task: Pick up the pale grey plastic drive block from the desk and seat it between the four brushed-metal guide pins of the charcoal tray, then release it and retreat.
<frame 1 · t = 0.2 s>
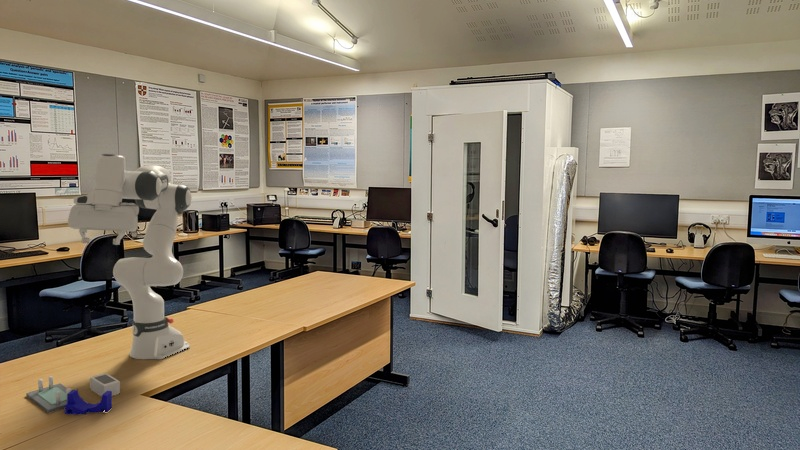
hand: (100, 243, 168), 51 cm above the table, tool tilted 20°, fingers open, 8 cm apart
pin tray: (54, 398, 171), on the table
cable clip: (88, 412, 164), on the table
drive: (105, 391, 178), on the table
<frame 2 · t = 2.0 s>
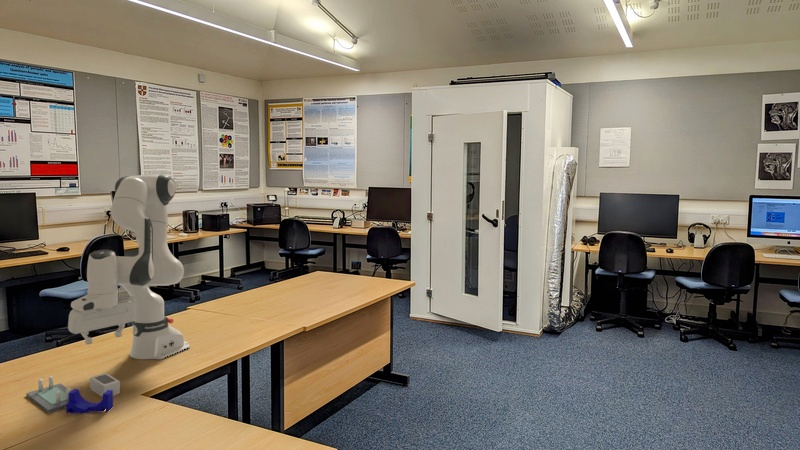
hand: (103, 340, 175), 18 cm above the table, tool pointing down, fingers open, 8 cm apart
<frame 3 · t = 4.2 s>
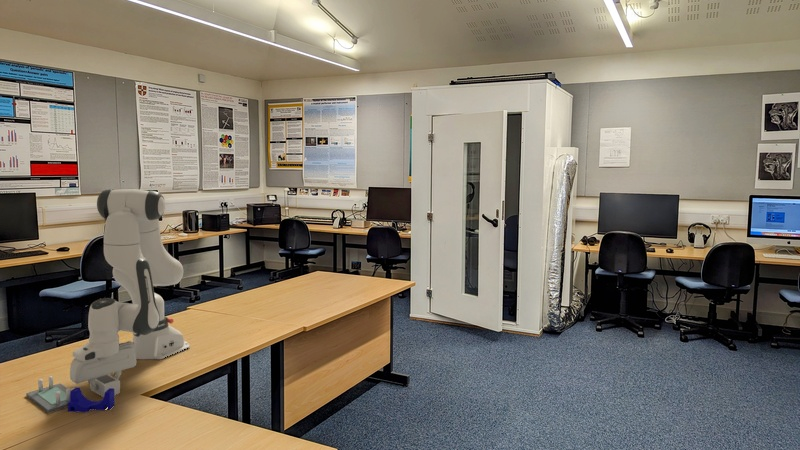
hand: (105, 386, 178), 2 cm above the table, tool pointing down, fingers closed on drive, 5 cm apart
drive: (105, 391, 178), on the table, touching gripper
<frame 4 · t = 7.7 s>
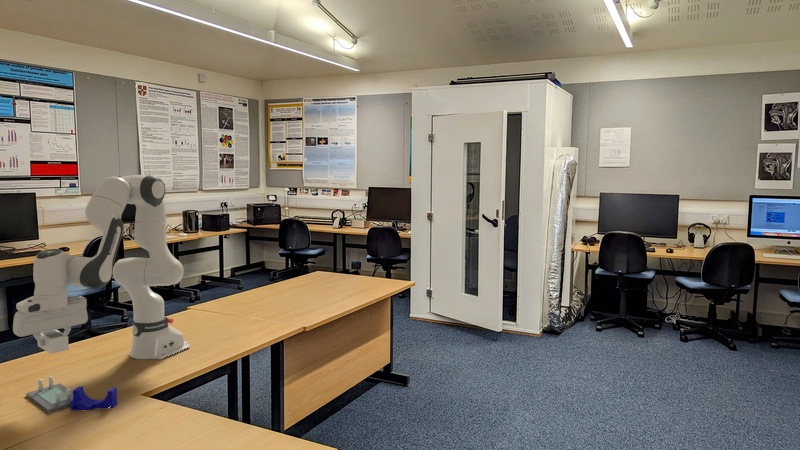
hand: (52, 342, 168), 19 cm above the table, tool pointing down, fingers closed on drive, 5 cm apart
drive: (53, 347, 168), point 17 cm above the table, touching gripper
when the fingers open (4 cm above the table, at t = 10.7 s): drive drops 1 cm, resting on pin tray.
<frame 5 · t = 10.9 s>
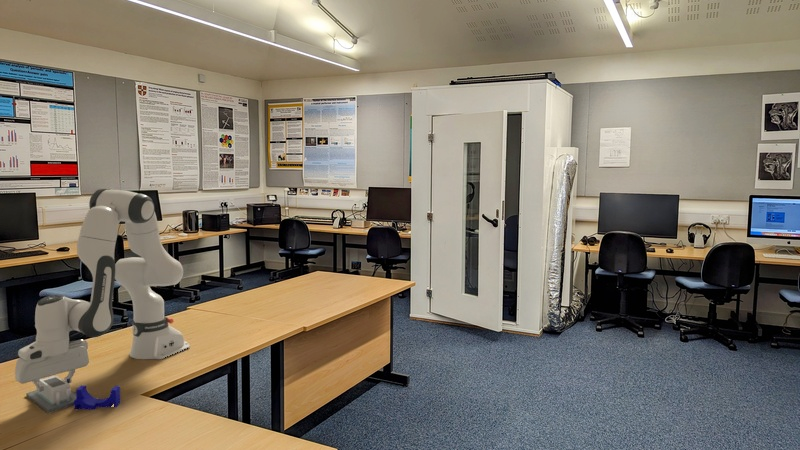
hand: (54, 386, 170), 4 cm above the table, tool pointing down, fingers open, 7 cm apart
cable clip: (97, 407, 168), on the table
drive: (54, 395, 171), point 1 cm above the table, touching pin tray
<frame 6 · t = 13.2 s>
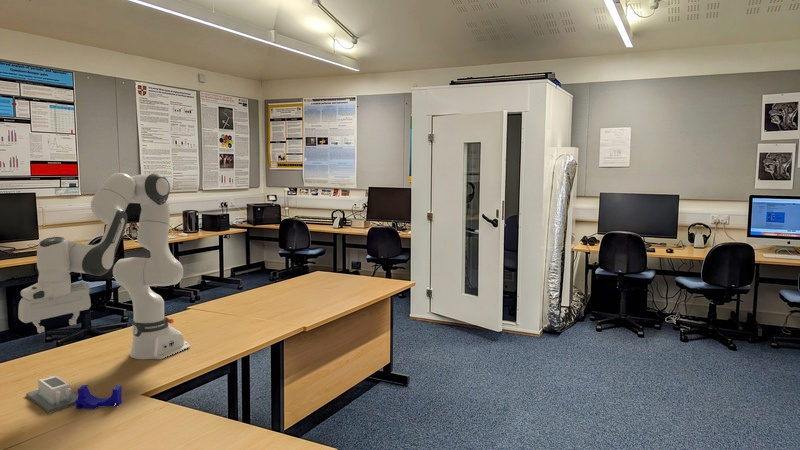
hand: (57, 328, 172), 22 cm above the table, tool pointing down, fingers open, 8 cm apart
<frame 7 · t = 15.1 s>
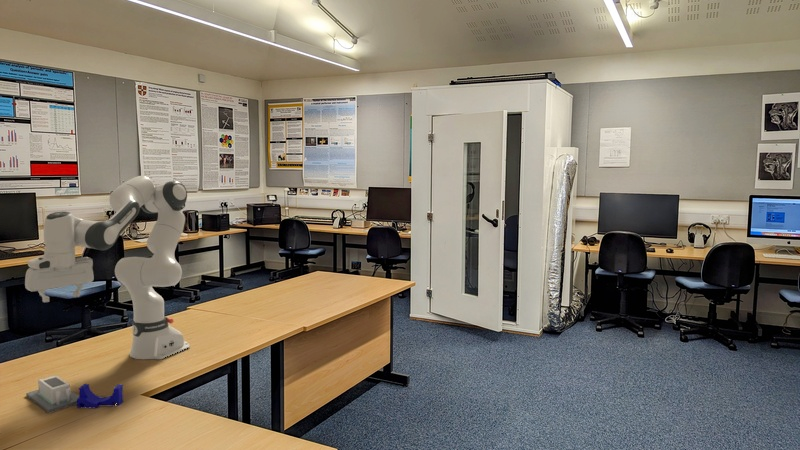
hand: (61, 299, 181), 29 cm above the table, tool pointing down, fingers open, 8 cm apart
at the end: drive 0.1 cm off-centre on the pin tray, point 1.2 cm above the pin tray's base; drive tilted 0°; the gripper is holding nothing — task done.
